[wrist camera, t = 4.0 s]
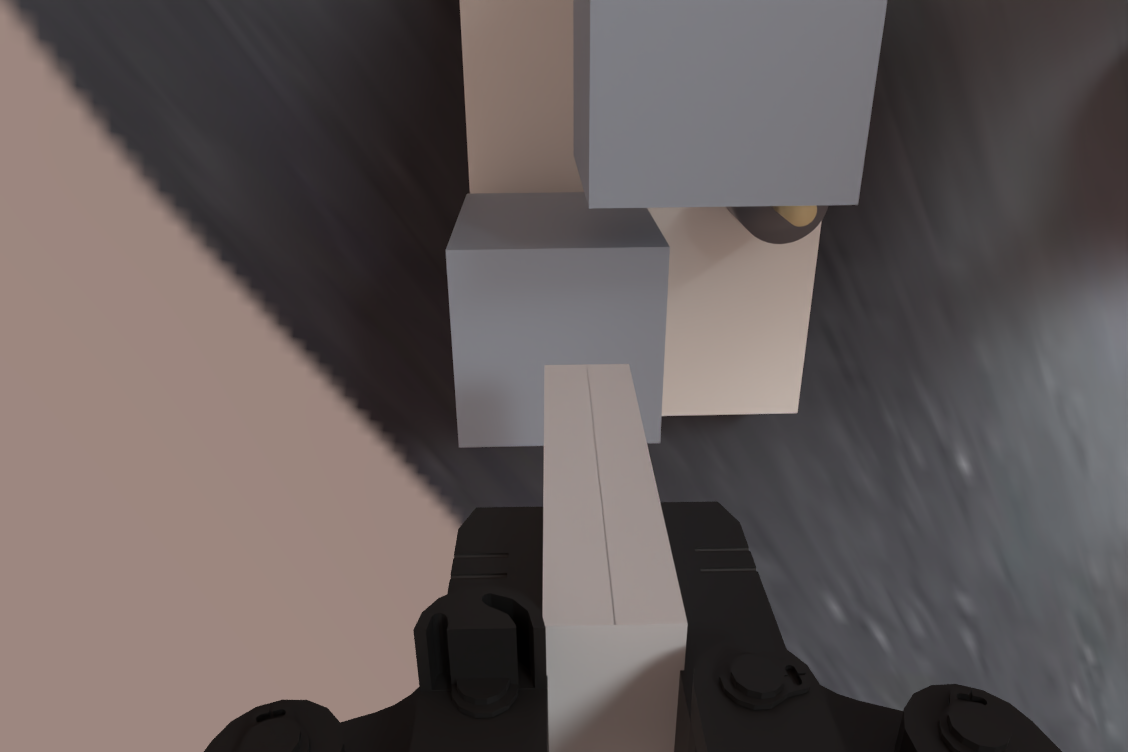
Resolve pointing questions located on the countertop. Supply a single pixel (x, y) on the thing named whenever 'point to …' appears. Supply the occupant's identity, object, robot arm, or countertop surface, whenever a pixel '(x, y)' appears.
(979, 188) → the countertop surface
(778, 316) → the mount
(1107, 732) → the countertop surface
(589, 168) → the knob
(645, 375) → the knob
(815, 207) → the potentiometer
